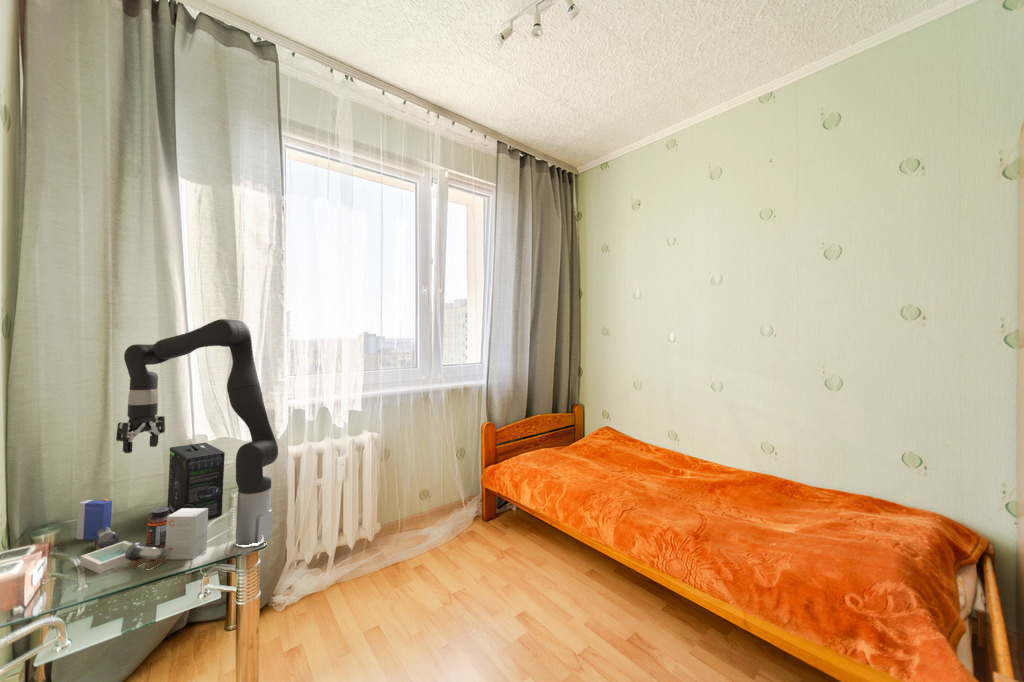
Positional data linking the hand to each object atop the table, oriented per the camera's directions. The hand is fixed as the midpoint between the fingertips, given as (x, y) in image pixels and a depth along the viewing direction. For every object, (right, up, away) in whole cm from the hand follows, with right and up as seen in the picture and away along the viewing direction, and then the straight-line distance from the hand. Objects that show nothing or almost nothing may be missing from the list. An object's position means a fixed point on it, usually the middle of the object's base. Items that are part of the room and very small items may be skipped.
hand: (141, 449), depth 135 cm
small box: (+27, -29, -14) cm, 42 cm away
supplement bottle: (+14, -28, -9) cm, 33 cm away
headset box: (+6, -28, +15) cm, 32 cm away
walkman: (-9, -27, -7) cm, 29 cm away
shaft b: (0, -27, -12) cm, 30 cm away
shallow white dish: (+9, -28, -19) cm, 35 cm away
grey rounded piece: (+21, -28, -20) cm, 40 cm away
